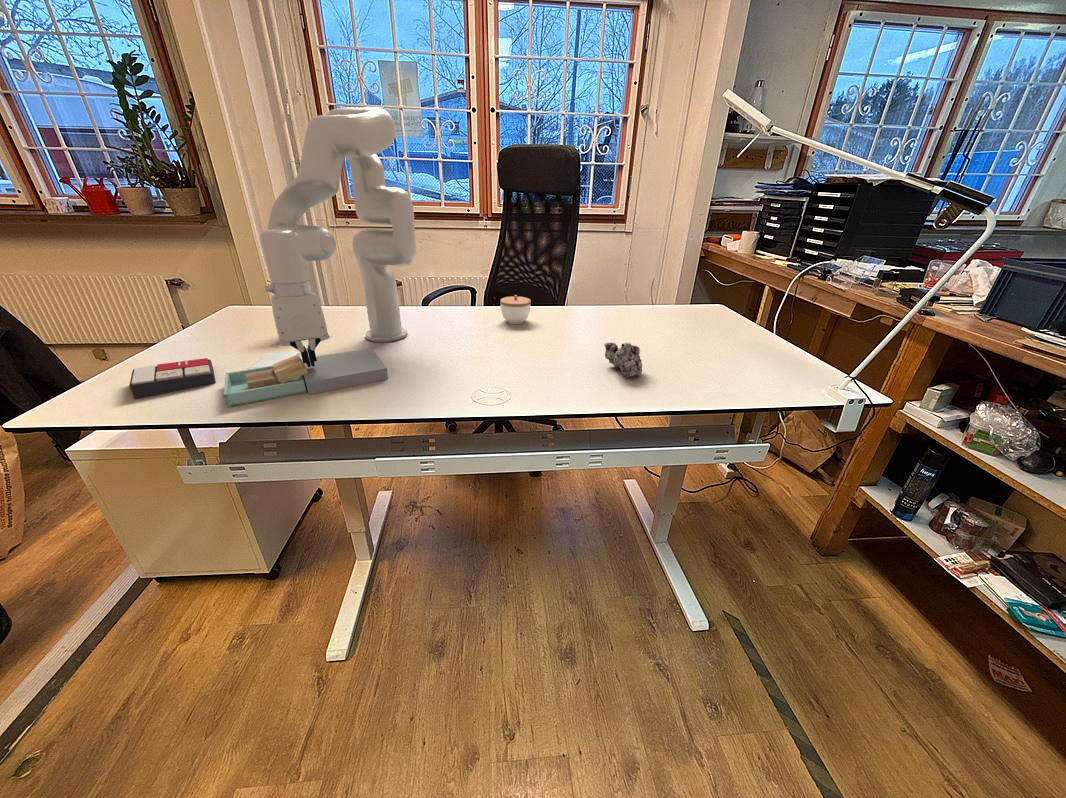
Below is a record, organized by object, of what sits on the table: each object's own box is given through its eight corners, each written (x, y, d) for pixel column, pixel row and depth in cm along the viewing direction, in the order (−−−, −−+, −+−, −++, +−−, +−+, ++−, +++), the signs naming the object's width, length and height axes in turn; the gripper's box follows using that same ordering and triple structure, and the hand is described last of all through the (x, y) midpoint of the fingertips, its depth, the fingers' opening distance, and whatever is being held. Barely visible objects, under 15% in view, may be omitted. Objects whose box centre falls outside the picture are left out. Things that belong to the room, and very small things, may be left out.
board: (301, 370, 109) (299, 359, 108) (373, 357, 118) (371, 347, 116) (308, 394, 97) (305, 382, 96) (388, 378, 106) (386, 367, 104)
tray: (229, 384, 101) (225, 373, 99) (301, 372, 108) (298, 361, 107) (227, 407, 91) (223, 395, 89) (306, 392, 98) (303, 380, 97)
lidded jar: (499, 317, 155) (499, 291, 151) (528, 317, 156) (529, 291, 152) (501, 326, 146) (500, 299, 141) (531, 325, 147) (532, 299, 143)
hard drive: (269, 351, 117) (244, 369, 106) (299, 351, 118) (278, 368, 107) (271, 357, 118) (246, 375, 107) (301, 357, 119) (279, 374, 108)
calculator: (212, 370, 100) (127, 382, 91) (217, 387, 102) (134, 400, 93) (209, 356, 108) (131, 366, 99) (214, 371, 109) (137, 382, 101)
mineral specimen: (599, 348, 117) (618, 326, 110) (628, 358, 120) (649, 337, 112) (600, 383, 110) (621, 362, 103) (631, 393, 113) (653, 372, 105)
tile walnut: (249, 385, 100) (245, 373, 98) (278, 379, 102) (275, 368, 101) (250, 395, 95) (247, 383, 94) (281, 389, 98) (277, 377, 97)
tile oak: (279, 374, 102) (272, 364, 101) (304, 364, 104) (298, 354, 103) (281, 383, 98) (274, 372, 96) (307, 372, 100) (301, 362, 98)
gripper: (253, 296, 87) (276, 376, 96) (331, 289, 95) (346, 364, 103) (253, 288, 93) (274, 365, 102) (326, 282, 100) (340, 354, 109)
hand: (310, 364), depth 102 cm, fingers closed
